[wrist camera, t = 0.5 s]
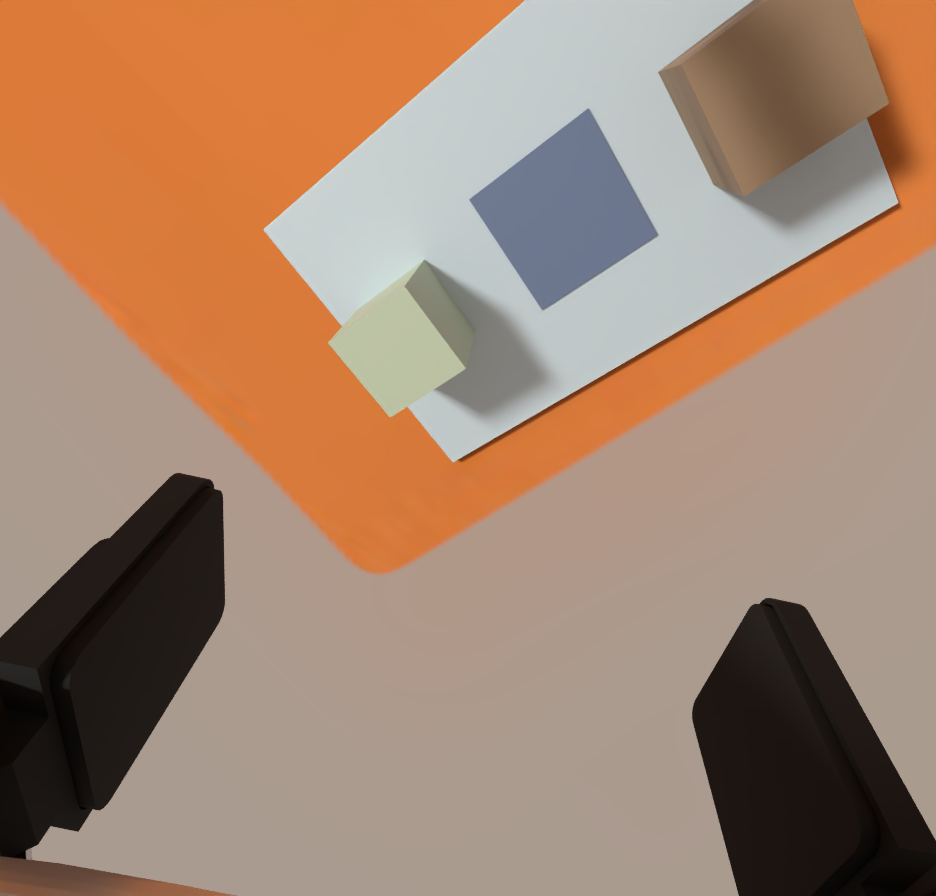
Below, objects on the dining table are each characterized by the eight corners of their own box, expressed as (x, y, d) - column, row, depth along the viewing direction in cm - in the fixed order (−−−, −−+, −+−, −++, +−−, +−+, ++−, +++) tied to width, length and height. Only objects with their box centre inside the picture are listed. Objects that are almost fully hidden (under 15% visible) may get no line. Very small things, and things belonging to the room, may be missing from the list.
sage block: (424, 259, 33) (404, 286, 28) (475, 331, 35) (466, 368, 30) (358, 309, 35) (327, 342, 30) (410, 374, 37) (390, 417, 32)
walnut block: (783, -24, 26) (834, -51, 22) (834, 104, 28) (889, 103, 24) (657, 72, 28) (680, 64, 24) (713, 184, 30) (743, 196, 26)
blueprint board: (744, -189, 24) (749, -197, 24) (892, 201, 30) (899, 203, 30) (267, 227, 34) (262, 229, 33) (453, 457, 40) (452, 463, 40)
